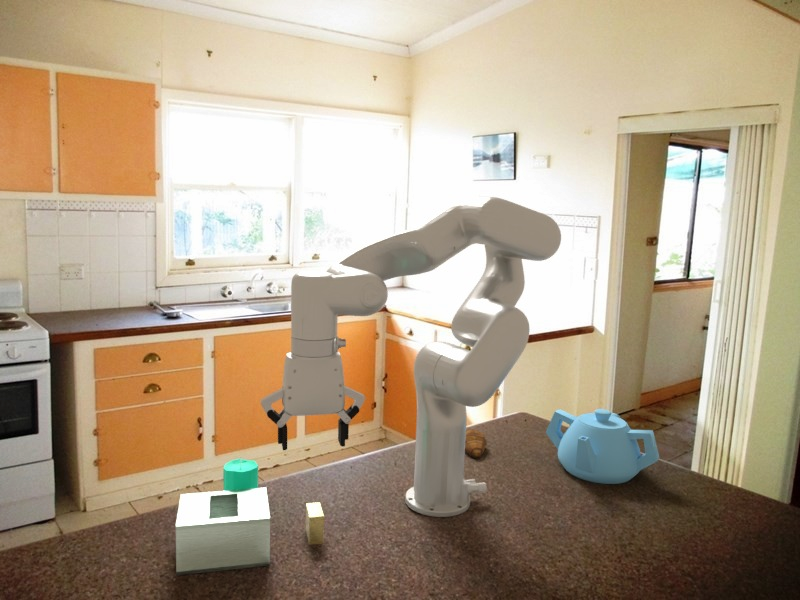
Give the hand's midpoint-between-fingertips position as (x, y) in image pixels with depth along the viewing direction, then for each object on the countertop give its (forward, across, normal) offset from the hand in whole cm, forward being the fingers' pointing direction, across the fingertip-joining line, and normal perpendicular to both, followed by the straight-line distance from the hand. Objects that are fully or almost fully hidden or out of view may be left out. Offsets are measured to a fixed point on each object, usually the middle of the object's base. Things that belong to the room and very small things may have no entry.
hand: (313, 445), depth 108 cm
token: (+16, 0, 0) cm, 17 cm away
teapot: (+17, -65, -17) cm, 69 cm away
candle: (+16, +12, -8) cm, 22 cm away
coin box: (+16, +15, +2) cm, 22 cm away
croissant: (+17, -42, -33) cm, 56 cm away
